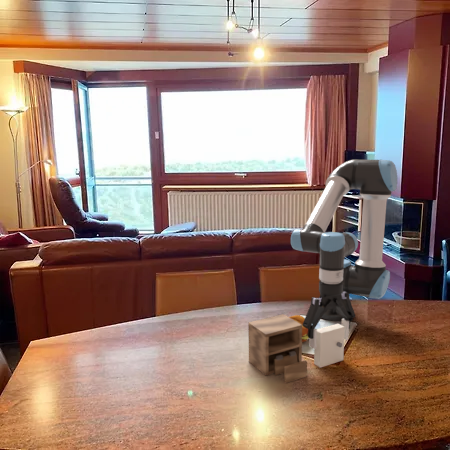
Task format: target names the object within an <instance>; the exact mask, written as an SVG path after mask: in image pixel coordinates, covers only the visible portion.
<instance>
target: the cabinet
mask: <svg viewBox="0 0 450 450" xmlns="http://www.w3.org/2000/svg"><path fill="white" fill-rule="evenodd" d="M289 317H290V316H287V315H286V314H284V313H282V314H278V315H273V316H269V317H265V318H261V319H257V320H253V321H249V322H248V362H249V363H250V364H251V365H252V366H254V368H256V369H257V370H258V371H260V372H261V373H262V374H263V375H264V376H265V377H266V376H269V375H272V374H274V375H275V376H279V375H282V374H283V381H284V383H285V384H288V383H290V382H294V381H297V380H300V379H303V378H306V377H308V361H307V360H303V354H302V353H303V349H302V348H303V347H302V346H303V342H302V325H301V324H300V323H298V322H296V321H295V320H293V319H291V318H289Z"/></svg>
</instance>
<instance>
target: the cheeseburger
mask: <svg viewBox="0 0 450 450" xmlns="http://www.w3.org/2000/svg"><path fill="white" fill-rule="evenodd" d="M288 317H289V318H291V319H293V320H295V321H296V322H298V323H300V324H301V325H302V343H304V342H307V341H309V337H308V329H307V328H305V327H304V326H303V322H304V320H305V317H304V316H302V315H299V314H297V315H296V314H294V315H291V316H288Z"/></svg>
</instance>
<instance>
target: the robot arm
mask: <svg viewBox="0 0 450 450" xmlns="http://www.w3.org/2000/svg"><path fill="white" fill-rule="evenodd" d="M397 187H398V171H397V167H396V165H395V163H394V162H393V161H392V160H390V159H389V160H388V159H356V158H355V159H349V160H347V161H345V162H343V163H341V164H339V165H338V166H337V167H335V169H334V170H332V171H331V173H330V174H329V175H328V176H327V178H326V179H325V188H324V189H323V191H322V193H321V194H320V196H319V199H318V200H317V202H316V204H315V206H314V207H313V210H312V211H311V214H310V215H309V216H308V218H307V220H306V222H305V224H304V226H303V228H297V229H294V230H293V231H292V232H291V236H290V245H291V247H292V250H296V251H300V252H307V253H315V254H319V271H318V273H319V274H318V279H319V280H318V291H319V297H311V300H310V305H309V307H308V310H307V313H306V315H305V317H304V318H305V320H304V322H303V326H304V327H305V328H307V329H308V337H309V338H308V346H309V348H310V347H311V349H313V350H314V349H316V337H317V329H318V328H316V327H317V326H318V324H319V322H321V321H320V320H322V319H323V320H327V321H332V322H333V321H334V322H341V324H340V325H342V326H344V327H345V329H344V340H346V341H347V340H349V333H350V332H349V330H350V329H351V322H353V320H354V318H355V317H356V313H355V310H354V307H353V305H352V302H351V298H350V295H353V296H354V295H355V296H360V297H364V298H369V299H377V300H378V299H382V298H383V297H384V296H385V294H386V293H387V290H388V287H389V284H390V279H391V272H390V270H389V269H388V270H387V269H386V268H387V267H386V263H385V262H384V261H383V251H384V239H385V225H386V215H387V214H386V212H387V201H388V199H389V198H391V196H392V192H395V191H396V190H397ZM350 190H359V195H360V196H361V197H362V199H363V201H362V213H361V214H362V217H361V229H360V241H359V240H358V238H357V237H356V235H355V234H354V233H352V232H346V231H345V232H338V231H337V232H336V231H335V232H334V231H329V232H328V231H327V229H328V226H329V225H330V222H332V219H333V217H334V216H335V213H336V211H337V210H338V207H339V205H340V203H341V201H342V200H343V197H344V196H345V195H347V194H348V193H349V191H350ZM326 231H327V232H326ZM359 242H360V244H359ZM359 245H360V247H359V258H358V259H357V260H356V261H355V263H354V264H352V262H351V261H350V260H349V259H345V258H347V257H348V256H351V255H353V254H354V252H355V251H356V250H358V246H359Z"/></svg>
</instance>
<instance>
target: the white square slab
mask: <svg viewBox="0 0 450 450" xmlns="http://www.w3.org/2000/svg"><path fill="white" fill-rule="evenodd" d="M316 329H317V337H316V349H314V348H313V351H314V352H313V355H314V356H313V359H314V360H313V364H314V365H315V366H316V367H318V368H323V367H327V366H329V365H332V364H335V363H338V362H342V361H344V355H345V354H344V351H345V339H344V329H345V327H344V326H342V325H341V324H340V323H335V324H332V325H328V326H324V327H320V328H316Z"/></svg>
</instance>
